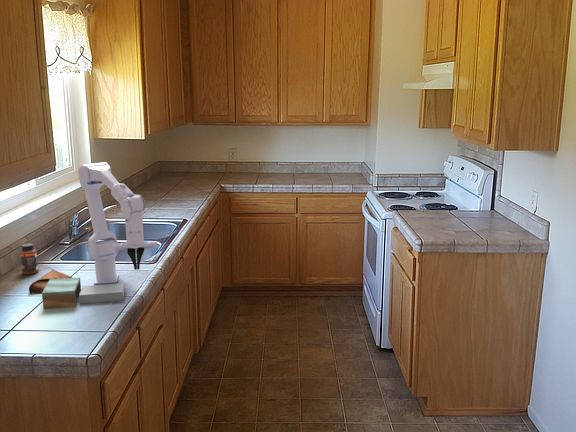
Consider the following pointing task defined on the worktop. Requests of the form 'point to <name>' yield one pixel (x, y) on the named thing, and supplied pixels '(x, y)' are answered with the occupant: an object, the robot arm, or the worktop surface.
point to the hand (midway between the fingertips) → (137, 268)
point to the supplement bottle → (29, 259)
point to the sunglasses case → (46, 281)
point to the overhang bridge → (61, 293)
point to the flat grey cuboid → (102, 293)
